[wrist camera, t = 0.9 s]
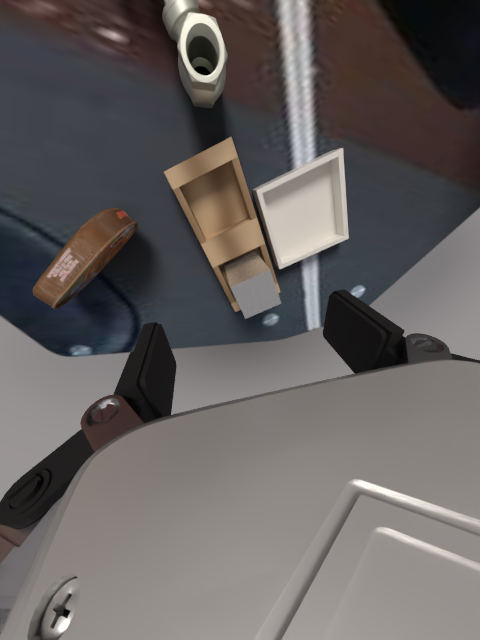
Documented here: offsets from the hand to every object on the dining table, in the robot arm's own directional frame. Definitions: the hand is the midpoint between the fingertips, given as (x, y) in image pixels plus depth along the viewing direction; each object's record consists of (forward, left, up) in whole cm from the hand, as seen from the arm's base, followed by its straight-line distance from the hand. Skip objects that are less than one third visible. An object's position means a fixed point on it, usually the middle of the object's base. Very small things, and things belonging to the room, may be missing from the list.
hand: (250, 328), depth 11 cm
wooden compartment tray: (-2, +1, -22) cm, 22 cm away
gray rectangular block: (-2, +6, -22) cm, 22 cm away
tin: (+15, -5, -22) cm, 28 cm away
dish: (-12, +2, -22) cm, 25 cm away
